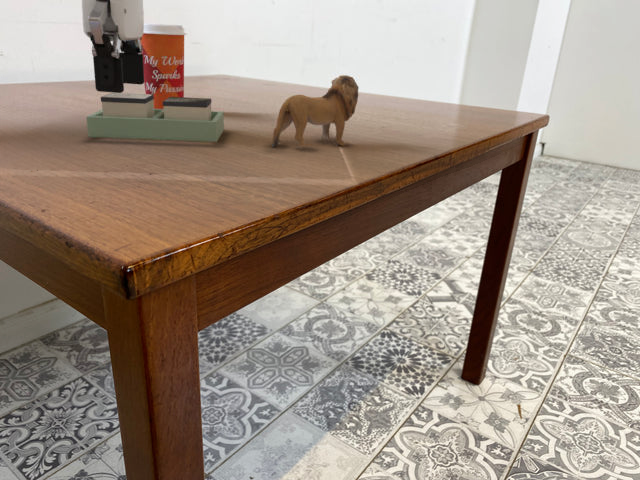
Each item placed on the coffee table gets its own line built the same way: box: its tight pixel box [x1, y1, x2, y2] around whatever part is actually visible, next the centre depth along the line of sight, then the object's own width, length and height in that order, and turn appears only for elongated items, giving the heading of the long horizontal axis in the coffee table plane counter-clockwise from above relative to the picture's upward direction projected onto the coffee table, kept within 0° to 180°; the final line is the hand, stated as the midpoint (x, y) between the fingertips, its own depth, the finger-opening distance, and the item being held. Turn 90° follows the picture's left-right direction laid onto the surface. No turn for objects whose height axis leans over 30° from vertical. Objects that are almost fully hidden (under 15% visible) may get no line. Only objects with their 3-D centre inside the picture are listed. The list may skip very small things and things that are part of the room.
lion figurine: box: [271, 74, 360, 148], centre depth 69 cm, size 15×5×9 cm, turn 134°
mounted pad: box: [163, 96, 212, 121], centre depth 70 cm, size 6×4×4 cm
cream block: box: [100, 92, 155, 118], centre depth 69 cm, size 6×4×4 cm
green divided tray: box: [85, 109, 225, 143], centre depth 70 cm, size 8×16×3 cm, turn 93°
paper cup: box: [141, 23, 188, 109], centre depth 84 cm, size 8×8×14 cm
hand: (121, 87), depth 68 cm, fingers open, 9 cm apart
